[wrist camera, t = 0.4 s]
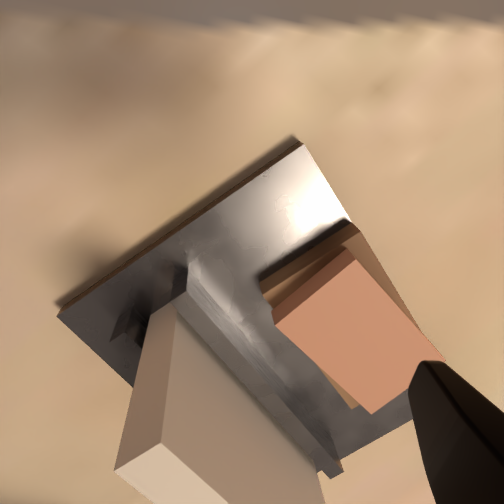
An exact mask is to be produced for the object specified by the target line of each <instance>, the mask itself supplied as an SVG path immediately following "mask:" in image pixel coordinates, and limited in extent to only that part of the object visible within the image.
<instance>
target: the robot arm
mask: <svg viewBox="0 0 504 504" xmlns="http://www.w3.org/2000/svg"><path fill="white" fill-rule="evenodd" d="M408 399H409V403H410V408H411V412H412V416H413V421H414V425H415V429H416V434H417V438H418V442H419V447H420V451H421V455H422V460H423V464H424V467H425V471H426V475H427V478H428V481H429V484H430V487H431V490H432V493H433V496H434V499H435V502H436V504H504V412H502V411H501V410H500V409H499V408H498V407H496V406H495V405H494V404H493V403H492V402H490V401H489V400H488V399H487V398H486V397H485V396H483V395H482V394H481V393H480V392H479V391H477V390H476V389H475V388H474V387H473V386H471V385H470V384H469V383H468V382H467V381H466V380H464V379H463V378H462V377H461V376H460V375H458V374H457V373H456V372H455V371H454V370H453V369H451V368H450V367H449V366H448V365H447V364H445V363H444V362H442V361H436V360H423V361H421V362H420V363H419V364H418V366H417V368H416V371H415V373H414V375H413V377H412V380H411V382H410V384H409V387H408Z"/></svg>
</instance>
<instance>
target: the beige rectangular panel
mask: <svg viewBox="0 0 504 504" xmlns="http://www.w3.org/2000/svg"><path fill="white" fill-rule="evenodd" d="M114 472H115V473H116V474H117V475H119V476H120V477H121V478H122V479H124V480H125V481H126V482H127V483H129V484H130V485H131V486H132V487H134V488H135V489H136V490H137V491H139V492H140V493H141V494H142V495H144V496H145V497H146V498H147V499H149V500H150V501H151V502H153V503H154V504H325V501H324V497H323V493H322V490H321V486H320V483H319V479H318V475H317V472H316V468H315V465H314V461H313V460H312V459H311V457H310V456H309V455H308V454H307V453H306V452H305V451H304V450H303V449H302V448H301V446H300V445H299V444H298V443H297V442H296V441H295V440H294V439H293V438H292V436H291V435H290V434H289V433H288V432H287V431H286V430H285V429H284V428H283V427H282V425H281V424H280V423H279V422H278V421H277V420H276V419H275V418H274V417H273V416H272V414H271V413H270V412H269V411H268V410H267V409H266V408H265V407H264V406H263V405H262V403H261V402H260V401H259V400H258V399H257V398H256V397H255V396H254V395H253V393H252V392H251V391H250V390H249V389H248V388H247V387H246V386H245V385H244V384H243V382H242V381H241V380H240V379H239V378H238V377H237V376H236V375H235V374H234V373H233V371H232V370H231V369H230V368H229V367H228V366H227V365H226V364H225V363H224V362H223V360H222V359H221V358H220V357H219V356H218V355H217V354H216V353H215V352H214V350H213V349H212V348H211V347H210V346H209V345H208V344H207V343H206V342H205V341H204V339H203V338H202V337H201V336H200V335H199V334H198V333H197V332H196V331H195V330H194V328H193V327H192V326H191V325H190V324H189V323H188V322H187V321H186V320H185V318H184V317H183V316H182V315H181V314H180V313H179V312H178V311H177V310H176V309H175V307H174V306H173V305H172V304H171V303H170V302H169V303H168V304H166V305H165V306H163V307H162V308H160V309H159V310H157V311H156V312H154V313H153V314H151V315H150V319H149V323H148V327H147V332H146V336H145V340H144V344H143V349H142V353H141V357H140V361H139V366H138V370H137V374H136V378H135V383H134V387H133V391H132V395H131V400H130V404H129V408H128V412H127V417H126V421H125V425H124V429H123V434H122V438H121V442H120V446H119V451H118V455H117V459H116V463H115V468H114Z"/></svg>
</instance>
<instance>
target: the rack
mask: <svg viewBox="0 0 504 504" xmlns="http://www.w3.org/2000/svg"><path fill="white" fill-rule="evenodd" d="M350 223H352V222H351V220H350V219H349V217H348V215H347V214H346V212H345V211H344V209H343V207H342V206H341V204H340V202H339V201H338V199H337V197H336V196H335V194H334V192H333V191H332V189H331V188H330V186H329V184H328V183H327V181H326V179H325V178H324V176H323V174H322V173H321V171H320V169H319V168H318V166H317V165H316V163H315V161H314V160H313V158H312V156H311V155H310V153H309V151H308V150H307V148H306V146H305V145H304V144H303V143H302V142H300V141H299V142H298V143H297V144H295V145H294V146H292V147H291V148H289V149H288V150H287V151H285V152H284V153H282V154H281V155H279V156H278V157H276V158H275V159H274V160H272V161H271V162H269V163H268V164H266V165H265V166H264V167H262V168H261V169H259V170H258V171H256V172H255V173H254V174H252V175H251V176H249V177H248V178H246V179H245V180H244V181H242V182H241V183H239V184H238V185H236V186H235V187H233V188H232V189H231V190H229V191H228V192H226V193H225V194H223V195H222V196H221V197H219V198H218V199H216V200H215V201H213V202H212V203H211V204H209V205H208V206H206V207H205V208H203V209H202V210H201V211H199V212H198V213H196V214H195V215H193V216H192V217H191V218H189V219H188V220H186V221H185V222H183V223H182V224H180V225H179V226H178V227H176V228H175V229H173V230H172V231H170V232H169V233H168V234H166V235H165V236H163V237H162V238H160V239H159V240H158V241H156V242H155V243H153V244H152V245H150V246H149V247H148V248H146V249H145V250H143V251H142V252H140V253H139V254H137V255H136V256H135V257H133V258H132V259H130V260H129V261H127V262H126V263H125V264H123V265H122V266H120V267H119V268H117V269H116V270H115V271H113V272H112V273H110V274H109V275H107V276H106V277H105V278H103V279H102V280H100V281H99V282H97V283H96V284H94V285H93V286H92V287H90V288H89V289H87V290H86V291H84V292H83V293H82V294H80V295H79V296H77V297H76V298H74V299H73V300H72V301H70V302H69V303H67V304H66V305H64V306H63V307H62V308H61V310H60V311H59V313H58V315H57V317H58V318H59V319H60V320H61V321H62V322H63V323H64V324H65V325H66V326H67V327H68V328H70V329H71V330H72V331H73V332H74V333H75V334H76V335H77V336H78V337H79V338H80V339H81V340H82V341H83V342H85V343H86V344H87V345H88V346H89V347H90V348H91V349H92V350H93V351H94V352H95V353H96V354H97V355H99V356H100V357H101V358H102V359H103V360H104V361H105V362H106V363H107V364H108V365H109V366H110V367H111V368H112V369H114V370H115V371H116V372H117V373H118V374H119V375H120V376H121V377H122V378H123V379H124V380H125V381H126V382H127V383H129V384H130V385H131V386H132V387H134V383H135V378H136V374H137V370H138V366H139V361H140V357H141V353H142V349H143V344H144V340H145V336H146V332H147V327H148V323H149V319H150V315H151V314H153V313H154V312H156V311H157V310H159V309H160V308H162V307H163V306H165V305H166V304H168V303H169V302H170V303H171V304H172V305H173V306H174V307H175V309H176V310H177V311H178V312H179V313H180V314H181V315H182V316H183V317H184V318H185V320H186V321H187V322H188V323H189V324H190V325H191V326H192V327H193V328H194V330H195V331H196V332H197V333H198V334H199V335H200V336H201V337H202V338H203V339H204V341H205V342H206V343H207V344H208V345H209V346H210V347H211V348H212V349H213V350H214V352H215V353H216V354H217V355H218V356H219V357H220V358H221V359H222V360H223V362H224V363H225V364H226V365H227V366H228V367H229V368H230V369H231V370H232V371H233V373H234V374H235V375H236V376H237V377H238V378H239V379H240V380H241V381H242V382H243V384H244V385H245V386H246V387H247V388H248V389H249V390H250V391H251V392H252V393H253V395H254V396H255V397H256V398H257V399H258V400H259V401H260V402H261V403H262V405H263V406H264V407H265V408H266V409H267V410H268V411H269V412H270V413H271V414H272V416H273V417H274V418H275V419H276V420H277V421H278V422H279V423H280V424H281V425H282V427H283V428H284V429H285V430H286V431H287V432H288V433H289V434H290V435H291V436H292V438H293V439H294V440H295V441H296V442H297V443H298V444H299V445H300V446H301V448H302V449H303V450H304V451H305V452H306V453H307V454H308V455H309V456H310V457H311V459H312V460H313V461H314V465H315V468H316V472H319V471H321V470H322V471H323V472H324V473H325V474H326V475H327V476H328V477H329V478H330V479H332V478H334V477H335V476H337V475H339V474H341V473H343V472H344V471H343V468H342V465H341V462H340V460H341V459H342V458H344V457H346V456H348V455H350V454H351V453H353V452H355V451H357V450H358V449H360V448H362V447H364V446H366V445H367V444H369V443H371V442H373V441H375V440H376V439H378V438H380V437H382V436H383V435H385V434H387V433H389V432H391V431H392V430H394V429H396V428H398V427H399V426H401V425H403V424H405V423H407V422H408V421H410V420H412V419H413V416H412V412H411V408H410V403H409V399H408V388H407V389H406V390H405V391H403V392H402V393H401V394H399V395H398V396H396V397H395V398H394V399H392V400H391V401H389V402H388V403H387V404H385V405H384V406H383V407H381V408H380V409H378V410H377V411H376V412H374V413H373V414H370V413H369V412H368V411H367V410H366V409H365V408H364V407H363V406H362V405H361V404H360V405H358V406H357V407H355V408H353V409H351V408H350V407H349V406H348V404H347V403H346V402H345V401H344V399H343V398H342V397H341V395H340V394H339V393H338V392H337V390H336V389H335V388H334V386H333V385H332V384H331V383H330V381H329V380H328V379H327V377H326V376H325V375H324V374H323V372H322V371H321V370H320V368H319V367H318V366H317V365H316V363H315V362H314V361H313V360H312V359H311V358H309V357H308V356H307V355H306V354H305V353H304V352H303V351H302V350H301V349H300V348H299V347H297V346H296V345H295V344H294V343H293V342H292V341H291V340H290V339H289V338H288V337H287V336H286V335H284V334H283V333H282V332H281V331H280V330H279V329H278V328H277V327H276V326H275V325H274V321H273V317H272V314H271V311H272V310H273V308H272V307H271V306H270V304H269V303H268V302H267V301H266V299H265V298H264V297H263V295H262V292H261V288H260V285H259V283H260V282H261V281H263V280H264V279H266V278H267V277H269V276H270V275H272V274H273V273H275V272H277V271H278V270H280V269H281V268H283V267H284V266H286V265H287V264H289V263H290V262H292V261H293V260H295V259H297V258H298V257H300V256H301V255H303V254H304V253H306V252H307V251H309V250H310V249H312V248H313V247H315V246H316V245H318V244H320V243H321V242H323V241H324V240H326V239H327V238H329V237H330V236H332V235H333V234H335V233H336V232H338V231H339V230H341V229H343V228H344V227H346V226H347V225H349V224H350Z"/></svg>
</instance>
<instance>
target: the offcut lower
mask: <svg viewBox="0 0 504 504" xmlns="http://www.w3.org/2000/svg"><path fill="white" fill-rule="evenodd" d="M346 248H347V249H348V250H349V251H350V252H351V253H352V255H353V256H354V257H355V258H356V259H357V260H358V261H359V262H360V264H361V265H362V266H363V267H364V268H365V269H366V270H367V271H368V273H369V274H370V275H371V276H372V277H373V278H374V279H375V280H376V282H377V283H378V284H379V285H380V286H381V287H382V288H383V289H384V291H385V292H386V293H387V294H388V295H389V296H390V297H391V298H392V300H393V301H394V302H395V303H396V304H397V305H398V306H399V307H400V309H401V310H402V311H403V312H404V313H405V314H406V315H407V317H408V318H409V319H410V320H411V321H412V322H413V323H414V324H415V326H416V327H417V328H418V329H419V327H418V325H417V324H416V322H415V320H414V319H413V317H412V315H411V314H410V312H409V310H408V309H407V307H406V305H405V304H404V302H403V300H402V299H401V297H400V296H399V294H398V292H397V291H396V289H395V287H394V286H393V284H392V282H391V281H390V279H389V277H388V276H387V274H386V272H385V271H384V269H383V267H382V266H381V264H380V262H379V261H378V259H377V258H376V256H375V254H374V253H373V251H372V249H371V248H370V246H369V244H368V243H367V241H366V239H365V238H364V236H363V234H362V233H361V231H360V230H359V229H358V228H357V227H356V226H355V225H354V224H353V223H350V224H349V225H347V226H346V227H344V228H343V229H341V230H339V231H338V232H336V233H335V234H333V235H332V236H330V237H329V238H327V239H326V240H324V241H323V242H321V243H320V244H318V245H316V246H315V247H313V248H312V249H310V250H309V251H307V252H306V253H304V254H303V255H301V256H300V257H298V258H297V259H295V260H293V261H292V262H290V263H289V264H287V265H286V266H284V267H283V268H281V269H280V270H278V271H277V272H275V273H273V274H272V275H270V276H269V277H267V278H266V279H264V280H263V281H261V282H260V283H259V285H260V288H261V292H262V295H263V297H264V298H265V299H266V301H267V302H268V303H269V304H270V306H271V307H272V308H273V309H274V308H275V307H277V306H278V305H279V304H280V303H281V302H283V301H284V300H285V299H286V298H287V297H289V296H290V295H291V294H292V293H293V292H295V291H296V290H297V289H298V288H299V287H301V286H302V285H303V284H304V283H305V282H307V281H308V280H309V279H310V278H312V277H313V276H314V275H315V274H316V273H318V272H319V271H320V270H321V269H322V268H324V267H325V266H326V265H327V264H328V263H330V262H331V261H332V260H333V259H334V258H336V257H337V256H338V255H339V254H340V253H342V252H343V251H344V250H345V249H346ZM419 330H420V329H419ZM420 331H421V330H420ZM316 365H317V364H316ZM317 366H318V365H317ZM318 367H319V366H318ZM319 368H320V367H319ZM320 370H321V371H322V372H323V374H324V375H325V376H326V377H327V379H328V380H329V381H330V383H331V384H332V385H333V386H334V388H335V389H336V390H337V392H338V393H339V394H340V395H341V397H342V398H343V399H344V401H345V402H346V403H347V404H348V406H349V407H350V408H351V409H353V408H355V407H357V406H358V405H360V404H359V403H358V402H357V401H356V400H355V399H354V398H353V397H352V396H351V395H350V394H349V393H347V392H346V391H345V390H344V389H343V388H342V387H341V386H340V385H339V384H338V383H337V382H336V381H334V380H333V379H332V378H331V377H330V376H329V375H328V374H327V373H326V372H325V371H324V370H322V369H321V368H320Z"/></svg>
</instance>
